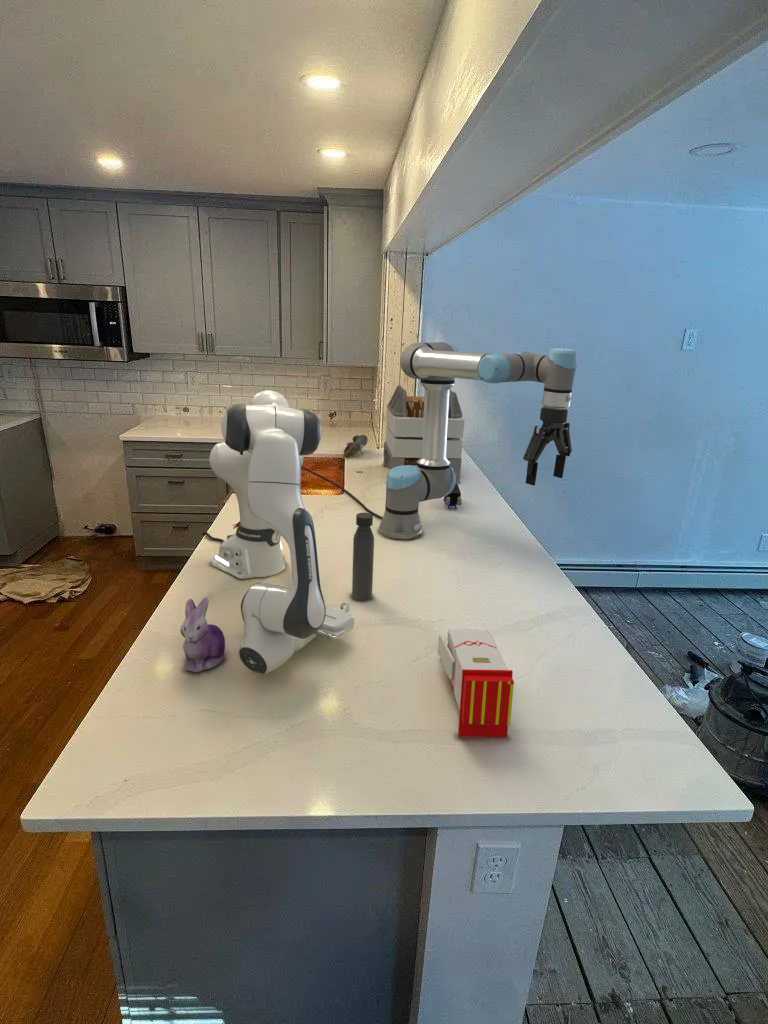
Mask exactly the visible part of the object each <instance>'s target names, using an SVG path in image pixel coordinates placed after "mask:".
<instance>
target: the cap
mask: <svg viewBox="0 0 768 1024" xmlns="http://www.w3.org/2000/svg"><path fill="white" fill-rule="evenodd" d="M373 523H374V515H372V514H371V513H369V512H359V513H356V514H355V525H356V526H357V527H358V526H360V527H372V526H373Z"/></svg>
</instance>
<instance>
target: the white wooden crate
mask: <svg viewBox="0 0 768 1024" xmlns="http://www.w3.org/2000/svg"><path fill="white" fill-rule="evenodd" d="M407 394H408V393H407V390H406V389H404V388H403V387H402V385H399V384H398V385H397V386H396V388H395V390H394V392H393V394H392V395H391V398H390V400H389V402H388V404H387V405H386V413H385V414H386V415H385V423H386V428H385V438H384V442H383V466H384V467H388V468H389V470H391V469H392V468H394V467H397V466H402V465H404V466H406V465H413V466H417V461H418V460H419V459H420V458H421V457H422V441H423V417H424V396H415V395H414V396H413V395H412V396H411V395H407ZM464 429H465V419H464V418H463V411H462V408H461V405H460V402H459V398H458V395H457V392H455V391H453V390H452V389H450V394H449V412H448V430H447V448H446V458H447V460H448V461H449V462H450V466H451V467H452V468H453V470H454V473H455V475H456V483H455V484H459V483H461V472H462V461H463V460H462V453H463V442H464V441H463V440H462V439H463V438H464V431H465V430H464Z"/></svg>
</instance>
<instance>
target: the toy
mask: <svg viewBox="0 0 768 1024" xmlns="http://www.w3.org/2000/svg"><path fill="white" fill-rule="evenodd" d="M446 640H447V643H446V641H445V639H444V636H443V635H442V634H439V637H438V646H437V656H438V657H439V659H440V661H441V663H442V666H443V668H444V670H445V672H446V674H447V677H448V679H449V681H450V684H451V687H452V690H453V693H454V697H455V701H456V705H457V708H458V711H459V714H458V715H459V716H458V730H457V731H458V732H457V737H458V738H508V731H509V726H510V725H511V717H512V707H513V697H514V696H513V695H514V684H515V680H514V679H513V673H514V671H513V670H512V669H508V667H507V665H506V662H505V661H504V659H503V658H502V655H501V653H500V651H499V649H498V647H497V643H496V639H495V637H494V635H493V634H491V632H490V631H489V629H467V628H466V629H465V628H463V629H461V628H460V629H459V628H448V630H447V639H446Z"/></svg>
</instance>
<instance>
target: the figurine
mask: <svg viewBox="0 0 768 1024" xmlns="http://www.w3.org/2000/svg"><path fill="white" fill-rule="evenodd" d="M209 603H210V600H209V598H208V597H204V598H202V599H201V601H200V603H199V604H198V605H197V606H196V602H195V601H194V599H193V598H188V599H187V601H186V603H185V612H184V613H185V618H184V620H183V621H182V624H181V625H180V634H181V636H182V637H183V638H184V641H183V643H182V650H183V654H184V656H185V659H186V661H185V667H184V668H185V670H187V671H189V672H193V673H200V672H202V671H205V670H211V669H213V668H214V667H216V666H218V665H219V664H220V663H222V662H223V661H224V659H225V651H226V638H225V635H224V632H223V630H222V629H221V628H220V627H219V626H218V625H216V624H212V623H211V624H210V623H208V621H207V619H206V615H207V612H208V608H209Z"/></svg>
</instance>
